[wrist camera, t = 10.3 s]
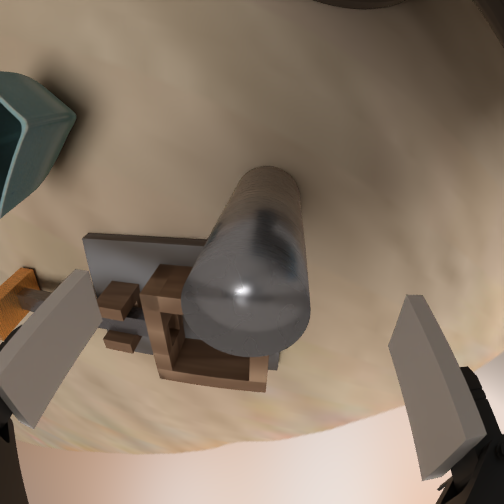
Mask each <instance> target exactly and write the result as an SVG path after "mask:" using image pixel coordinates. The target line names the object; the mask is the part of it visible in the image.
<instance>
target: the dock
mask: <svg viewBox="0 0 504 504" xmlns="http://www.w3.org/2000/svg"><path fill="white" fill-rule="evenodd" d="M82 240H83V245H84V249H85V253H86V258H87V262H88V266H89V270H90V274H91V278H92V281H93V285H94V289H95V292H96V296H97V303H98V307H99V310H100V313H101V317H102V318H107V319H113V320H118V321H124V320H125V318H126V317H127V315H128V314H129V312H130V310H131V309H132V307H138V308H142V309H143V313H144V318H145V322H146V326H147V330H148V335H149V337H146V336H140V335H134V334H129V333H124V332H118V331H113V330H108V329H107V331H108V332H107V334H106V335H105V337H104V338H103V340H104V343H105V345H106V348H109V349H114V350H118V351H123V352H128V353H134V351H135V352H140V353H145V354H151V355H154V358H155V362H156V365H157V369H158V372H159V376H160V378H161V379H166V380H172V381H178V382H184V383H190V384H196V385H203V386H210V387H218V388H226V389H234V390H244V391H254V392H266V382H267V372H268V370H277V369H278V361H279V352H278V353H275V354H272V355H268V356H262V357H241V356H235V355H231V354H227V353H225V352H222V351H219V350H217V349H215V348H213V347H211V346H210V345H208V344H207V343H205V342H204V341H202V340H201V339H200V338H199V337H198V336H197V335H196V334H195V333H194V332H193V331H192V330H191V328H190V327H189V325H188V324H187V322H186V320H185V318H184V315H183V312H182V308H181V293H182V289H183V286H184V284H185V282H186V280H187V278H188V276H189V274H190V272H191V270H192V268H193V266H194V264H195V262H196V260H197V259H198V257H199V255H200V253H201V251H202V249H203V247H204V245H205V243H206V241H207V240H197V239H182V238H165V237H149V236H132V235H115V234H97V233H88V234H87V235H86V236H84V237H83V238H82Z"/></svg>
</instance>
